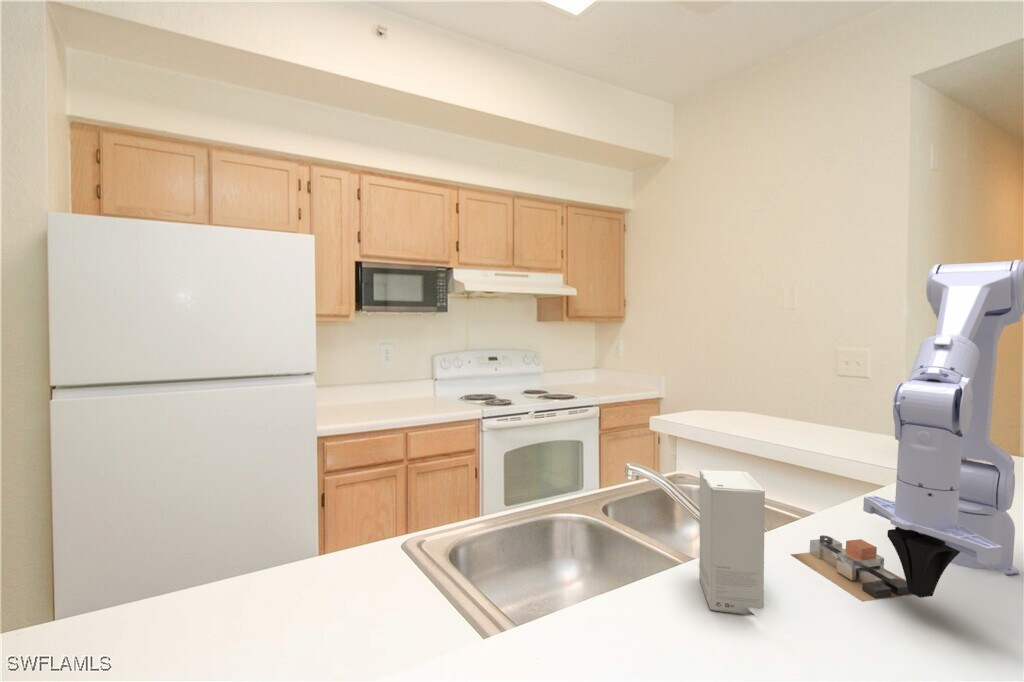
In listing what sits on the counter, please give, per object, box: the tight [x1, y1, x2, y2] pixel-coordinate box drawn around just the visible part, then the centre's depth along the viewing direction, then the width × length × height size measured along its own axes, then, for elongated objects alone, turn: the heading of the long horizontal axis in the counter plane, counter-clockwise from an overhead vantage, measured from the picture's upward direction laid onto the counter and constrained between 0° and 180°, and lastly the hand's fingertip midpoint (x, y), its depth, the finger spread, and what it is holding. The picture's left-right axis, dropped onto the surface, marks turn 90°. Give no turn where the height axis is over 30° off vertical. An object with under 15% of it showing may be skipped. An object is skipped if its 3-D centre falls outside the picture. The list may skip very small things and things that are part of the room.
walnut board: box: [790, 548, 915, 602], centre depth 68 cm, size 10×12×1 cm
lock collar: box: [837, 538, 885, 580], centre depth 67 cm, size 5×2×4 cm, turn 101°
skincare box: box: [698, 469, 766, 616], centre depth 64 cm, size 8×7×16 cm
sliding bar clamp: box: [809, 535, 912, 598], centre depth 68 cm, size 6×12×3 cm, turn 11°
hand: (920, 593), depth 59 cm, fingers closed
